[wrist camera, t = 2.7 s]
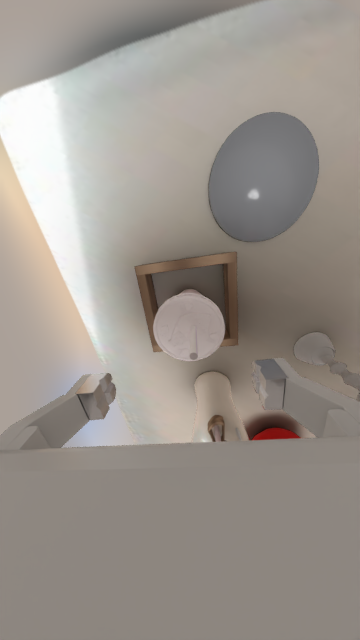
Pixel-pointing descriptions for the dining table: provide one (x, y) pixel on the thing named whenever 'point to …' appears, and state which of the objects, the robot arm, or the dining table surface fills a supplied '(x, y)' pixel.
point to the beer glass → (216, 411)
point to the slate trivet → (263, 177)
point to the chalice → (324, 356)
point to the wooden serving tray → (225, 258)
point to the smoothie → (189, 326)
